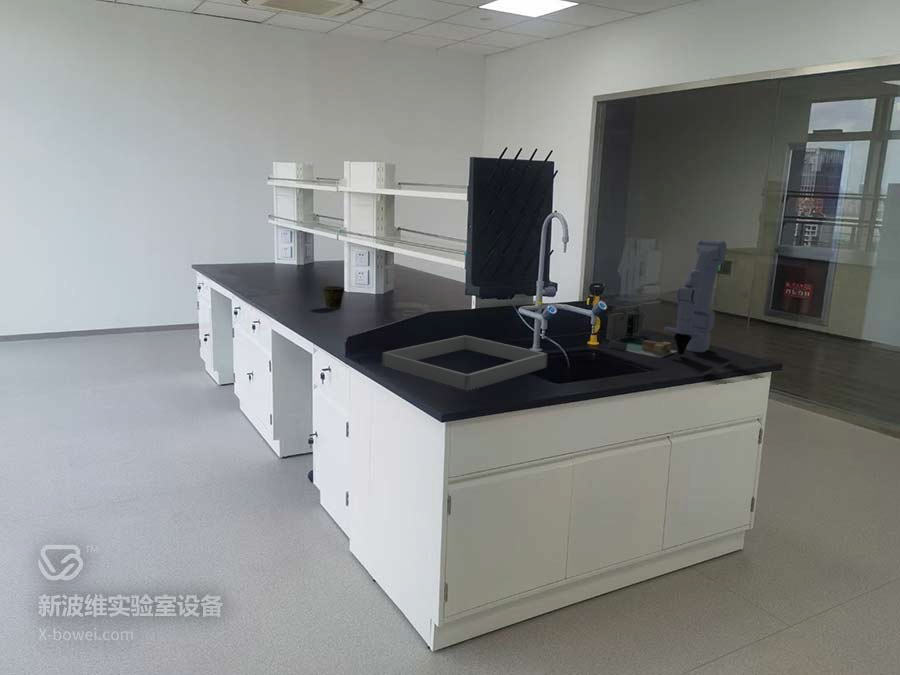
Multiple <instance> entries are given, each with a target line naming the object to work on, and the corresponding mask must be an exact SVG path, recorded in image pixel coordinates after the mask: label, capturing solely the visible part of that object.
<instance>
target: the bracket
mask: <svg viewBox="0 0 900 675" xmlns="http://www.w3.org/2000/svg"><path fill="white" fill-rule="evenodd" d="M643 341H645V339H644V338H641V337H636V336H625V337H621V338H618V339H614V340H611V341H610V340H608V346H607V348H610V347H611V349H615V348H616V349H615V350H619V349H621V350H620V351H624V350H627V344H625V343H628V342H629V343H634V344H639V345H643Z"/></svg>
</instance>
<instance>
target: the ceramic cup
mask: <svg viewBox="0 0 900 675" xmlns="http://www.w3.org/2000/svg"><path fill="white" fill-rule="evenodd" d="M322 289H323V290H322V291H323V295H324V299H325V300H324V301H325V306H326V309H328V310H340V309H341V308H342V302H343V296H344V291H345V286H344V287H343V286H340V285H339V286H336V285H330V286H323V288H322Z"/></svg>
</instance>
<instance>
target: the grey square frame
mask: <svg viewBox="0 0 900 675" xmlns="http://www.w3.org/2000/svg"><path fill="white" fill-rule="evenodd" d="M461 350H462V351H463V350H468V351H472V352H476V353H479V354H484V355H488V356H492V357H498V358H500V359H501V358H502V359H506V360H510V361H511V362H506V363H503V364H499V365H496V366H492V367H489V368H484V369H482V370H478V371H473V372H471V373H470V372H469V373H463V372H459V371H457V370H452V369H449V368H445V367H441V366H438V365H434V364H431V363H427V362H423V361H420V360H423V359H428V358H432V357H437V356H441V355H446V354H449V353H453V352H458V351H461ZM382 366H385V367H389V368H392V369H395V370H398V371H401V372H405V373H409V374H412V375H415V376H419V377H422V378H426V379H429V380H433V381H436V382H439V383H443V384H446V385H450V386H453V387H456V388H459V389H463V390H466V391H467V392H469V391H468V390H471V391H473V390H472V389H474V390H476V389H475V388H477V389H480V388H479V387H481V388H484V387H487V386H489V385H493V384H496V383H500V382H503V381H506V380H510V379H512V378H516V377H519V376H520V377H521V376H524V375H527V374H529V373H533V372H536V371H539V370H543V369H546V368H547V366H548V353H546V352H542V351H537V350H534V349H529V348H524V347H520V346H516V345H511V344H507V343H506V344H505V343H502V342H497V341H493V340H489V339H484V338H479V337H476V336H471V335H467V334H466V335H465V334H464V335H460V336H455V337H451V338H446V339H442V340H441V339H440V340H436V341H435V340H434V341H432V342H430V341H429V342H425V343H421V344H418V345H417V344H416V345H412V346H409V347H408V346H407V347H403V348H397V349H394V350H393V349H392V350H389V351H383V352H381V367H382ZM401 372H400V373H401ZM415 376H414V377H415ZM439 383H438V384H439ZM483 386H484V387H483ZM456 388H455V389H456ZM459 389H458V390H459ZM463 390H462V391H463ZM466 391H465V392H466Z"/></svg>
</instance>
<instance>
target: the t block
mask: <svg viewBox="0 0 900 675" xmlns="http://www.w3.org/2000/svg"><path fill="white" fill-rule="evenodd" d="M642 350H646V351H651V352H653V354H656V355H663V354H666V353H669V352H671V350H672V342H668V341H662V342H660V341H653V340H648V339H644V341H643V345H642Z"/></svg>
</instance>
